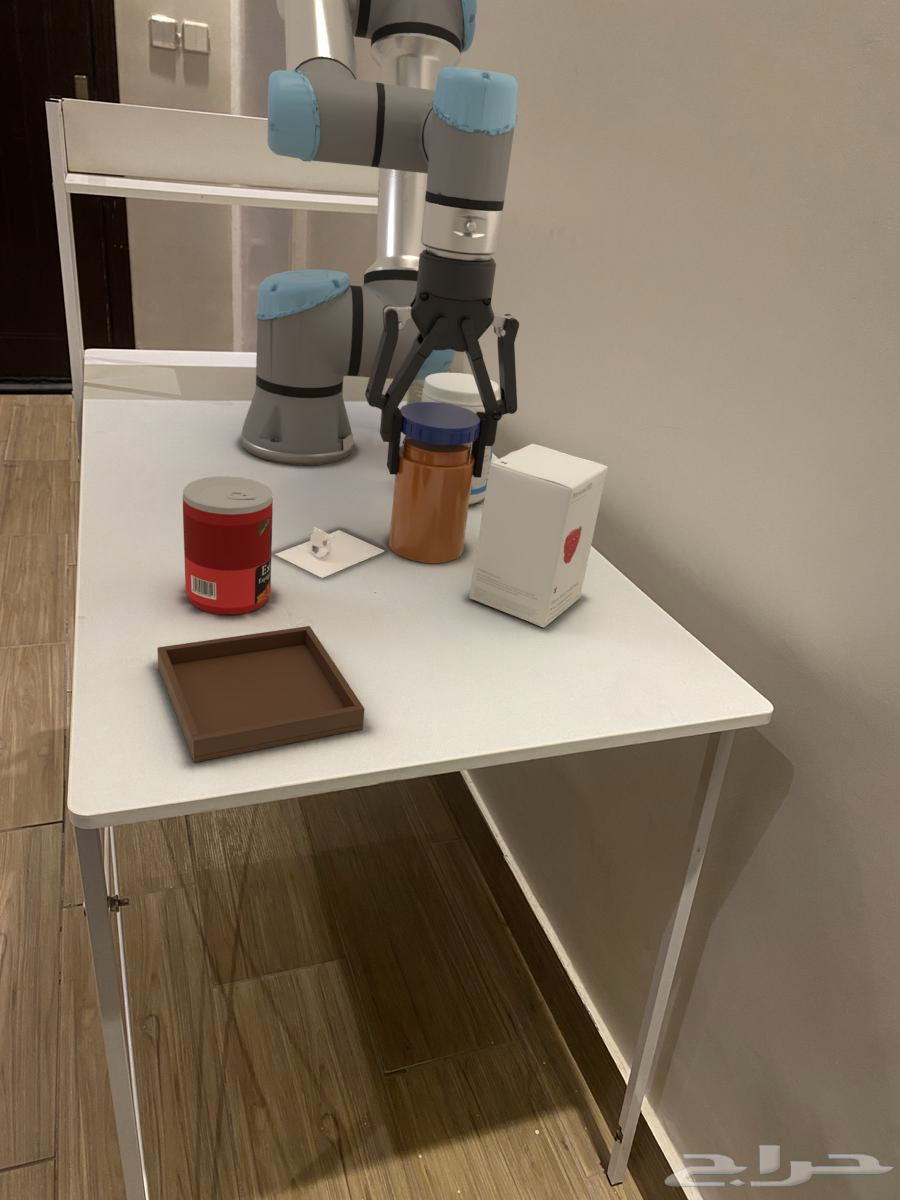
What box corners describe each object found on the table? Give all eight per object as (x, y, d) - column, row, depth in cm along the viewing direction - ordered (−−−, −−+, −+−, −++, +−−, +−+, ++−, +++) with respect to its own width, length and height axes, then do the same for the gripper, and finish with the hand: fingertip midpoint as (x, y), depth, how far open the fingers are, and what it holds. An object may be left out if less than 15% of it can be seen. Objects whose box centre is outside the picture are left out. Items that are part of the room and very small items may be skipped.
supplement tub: (500, 503, 117) (517, 391, 110) (439, 512, 112) (452, 395, 105) (459, 476, 124) (472, 369, 117) (399, 484, 119) (409, 372, 112)
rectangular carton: (544, 630, 89) (572, 488, 82) (467, 599, 93) (486, 461, 86) (583, 598, 96) (611, 464, 89) (509, 571, 100) (530, 440, 93)
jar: (377, 534, 104) (386, 430, 98) (442, 528, 108) (454, 427, 102) (407, 567, 98) (418, 457, 92) (475, 559, 102) (490, 452, 96)
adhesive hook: (304, 553, 98) (305, 526, 97) (321, 546, 100) (322, 520, 98) (324, 563, 96) (326, 536, 95) (341, 556, 98) (343, 530, 97)
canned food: (275, 614, 86) (277, 507, 81) (187, 618, 83) (184, 508, 78) (265, 577, 92) (267, 475, 87) (183, 579, 90) (180, 475, 85)
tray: (157, 667, 76) (157, 647, 75) (308, 644, 82) (309, 625, 81) (193, 762, 66) (193, 740, 65) (363, 729, 72) (364, 708, 71)
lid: (489, 429, 99) (491, 413, 98) (463, 451, 92) (465, 434, 91) (415, 412, 101) (417, 396, 101) (384, 433, 94) (386, 416, 93)
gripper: (353, 248, 82) (339, 481, 93) (574, 269, 87) (536, 487, 98) (344, 236, 89) (332, 455, 100) (551, 255, 94) (518, 462, 105)
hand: (433, 471), depth 99 cm, fingers closed on lid, 9 cm apart
